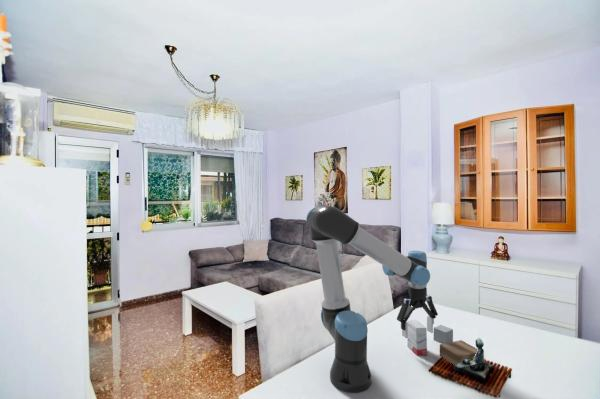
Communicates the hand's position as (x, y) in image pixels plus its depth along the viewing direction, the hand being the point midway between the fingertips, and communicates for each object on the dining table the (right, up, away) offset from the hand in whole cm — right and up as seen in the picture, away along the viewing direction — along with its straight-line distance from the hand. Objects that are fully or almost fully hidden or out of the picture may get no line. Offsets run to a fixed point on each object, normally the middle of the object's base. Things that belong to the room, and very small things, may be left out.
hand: (417, 334), depth 132 cm
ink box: (0, -7, 0) cm, 7 cm away
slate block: (+15, -7, +9) cm, 19 cm away
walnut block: (+15, -7, -7) cm, 18 cm away
